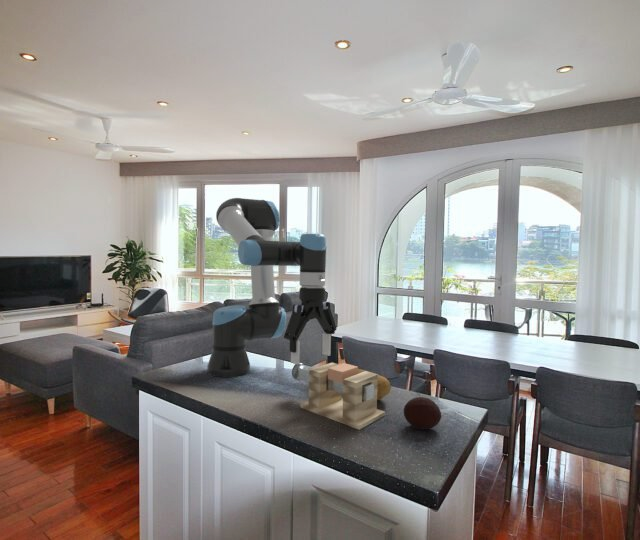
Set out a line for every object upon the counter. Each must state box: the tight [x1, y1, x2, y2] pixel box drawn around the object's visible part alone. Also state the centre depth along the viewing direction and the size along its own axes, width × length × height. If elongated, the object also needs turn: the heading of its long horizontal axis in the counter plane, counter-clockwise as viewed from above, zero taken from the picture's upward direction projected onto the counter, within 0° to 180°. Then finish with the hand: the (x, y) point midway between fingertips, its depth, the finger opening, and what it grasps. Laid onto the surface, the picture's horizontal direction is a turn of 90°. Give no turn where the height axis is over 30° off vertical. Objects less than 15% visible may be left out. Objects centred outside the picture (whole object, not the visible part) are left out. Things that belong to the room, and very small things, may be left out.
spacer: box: [328, 362, 359, 383], centre depth 107 cm, size 5×7×3 cm
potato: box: [358, 368, 392, 401], centre depth 117 cm, size 10×14×8 cm
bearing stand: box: [300, 362, 386, 430], centre depth 107 cm, size 20×12×11 cm, turn 49°
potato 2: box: [403, 396, 442, 431], centre depth 98 cm, size 8×9×8 cm
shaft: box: [291, 362, 374, 401], centre depth 110 cm, size 26×5×5 cm, turn 49°
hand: (311, 359), depth 114 cm, fingers open, 13 cm apart
